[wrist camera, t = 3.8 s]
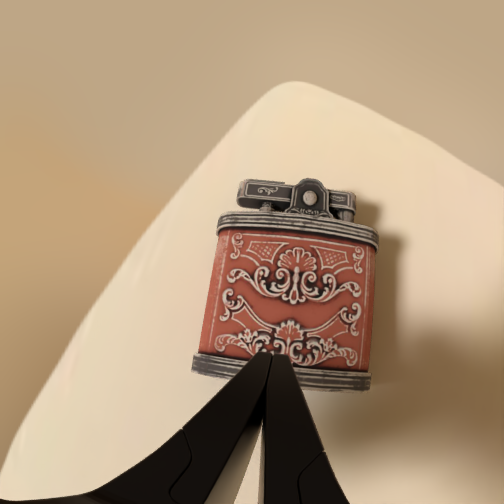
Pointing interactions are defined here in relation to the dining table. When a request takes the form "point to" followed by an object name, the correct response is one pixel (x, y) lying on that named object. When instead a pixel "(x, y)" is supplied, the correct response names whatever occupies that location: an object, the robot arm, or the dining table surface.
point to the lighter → (292, 286)
